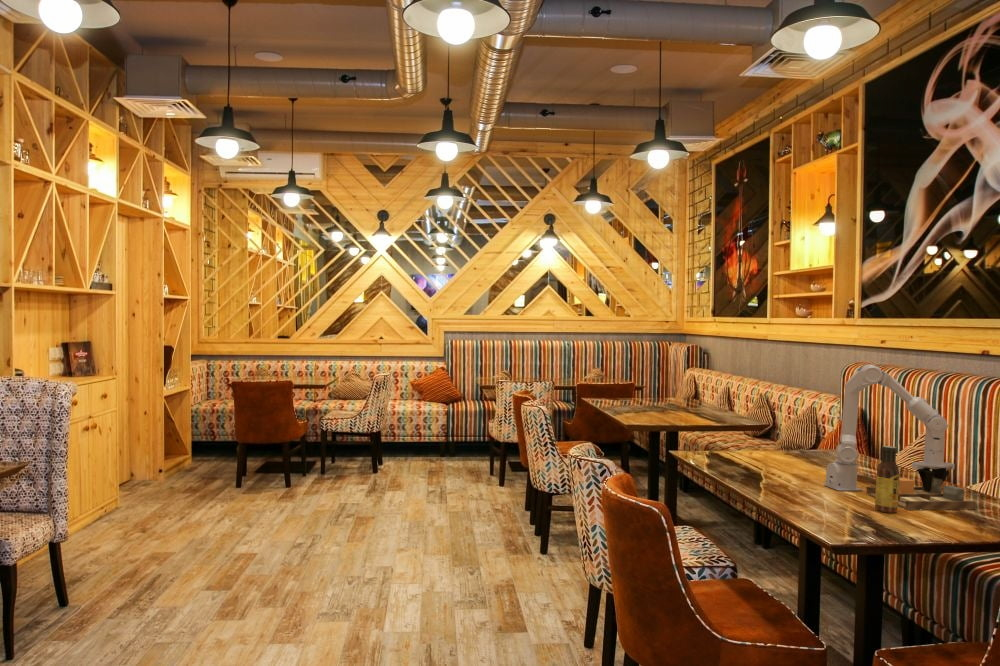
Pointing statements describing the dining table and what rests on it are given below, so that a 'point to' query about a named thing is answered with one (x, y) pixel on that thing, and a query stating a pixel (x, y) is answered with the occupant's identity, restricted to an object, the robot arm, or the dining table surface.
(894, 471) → the sauce bottle
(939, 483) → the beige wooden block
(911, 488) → the orange cube
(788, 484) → the dining table surface
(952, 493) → the lane board
